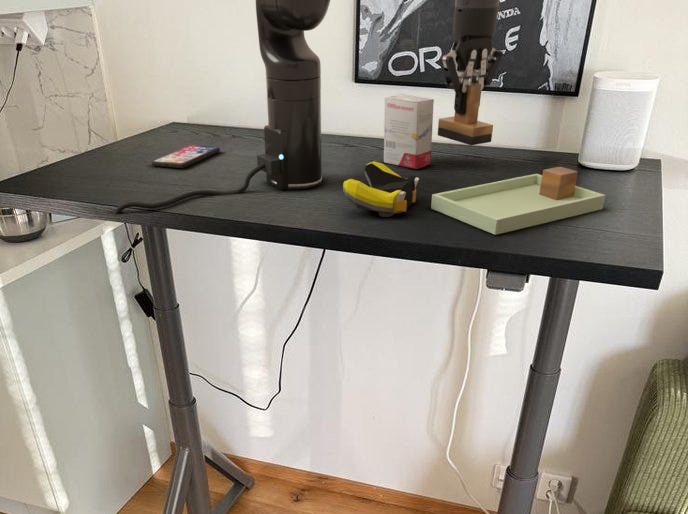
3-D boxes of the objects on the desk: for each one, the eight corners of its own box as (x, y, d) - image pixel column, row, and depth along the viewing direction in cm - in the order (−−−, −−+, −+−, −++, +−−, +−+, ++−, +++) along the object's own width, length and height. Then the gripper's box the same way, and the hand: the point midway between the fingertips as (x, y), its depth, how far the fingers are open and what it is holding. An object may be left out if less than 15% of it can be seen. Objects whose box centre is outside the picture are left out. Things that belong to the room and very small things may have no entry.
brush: (471, 145, 136) (477, 88, 130) (437, 135, 143) (441, 80, 137) (491, 142, 138) (498, 85, 132) (456, 132, 145) (462, 78, 139)
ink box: (431, 165, 142) (436, 98, 135) (414, 170, 139) (419, 102, 132) (398, 157, 147) (401, 92, 140) (381, 162, 145) (383, 96, 137)
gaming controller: (338, 216, 117) (398, 223, 114) (338, 181, 114) (400, 187, 111) (367, 191, 128) (422, 197, 126) (368, 158, 125) (425, 163, 122)
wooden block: (556, 200, 121) (560, 175, 119) (539, 194, 124) (543, 169, 122) (573, 196, 123) (578, 171, 120) (555, 190, 126) (560, 166, 123)
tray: (495, 235, 110) (497, 219, 109) (430, 208, 121) (431, 194, 119) (602, 209, 120) (605, 194, 118) (534, 186, 130) (536, 173, 129)
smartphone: (149, 161, 142) (189, 144, 153) (150, 166, 143) (190, 149, 154) (182, 164, 140) (220, 146, 151) (183, 169, 140) (221, 151, 151)
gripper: (492, 0, 133) (480, 105, 143) (432, 4, 127) (424, 113, 137) (521, 3, 128) (507, 112, 138) (460, 7, 122) (450, 120, 132)
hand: (466, 112), depth 138 cm, fingers closed on brush, 2 cm apart
